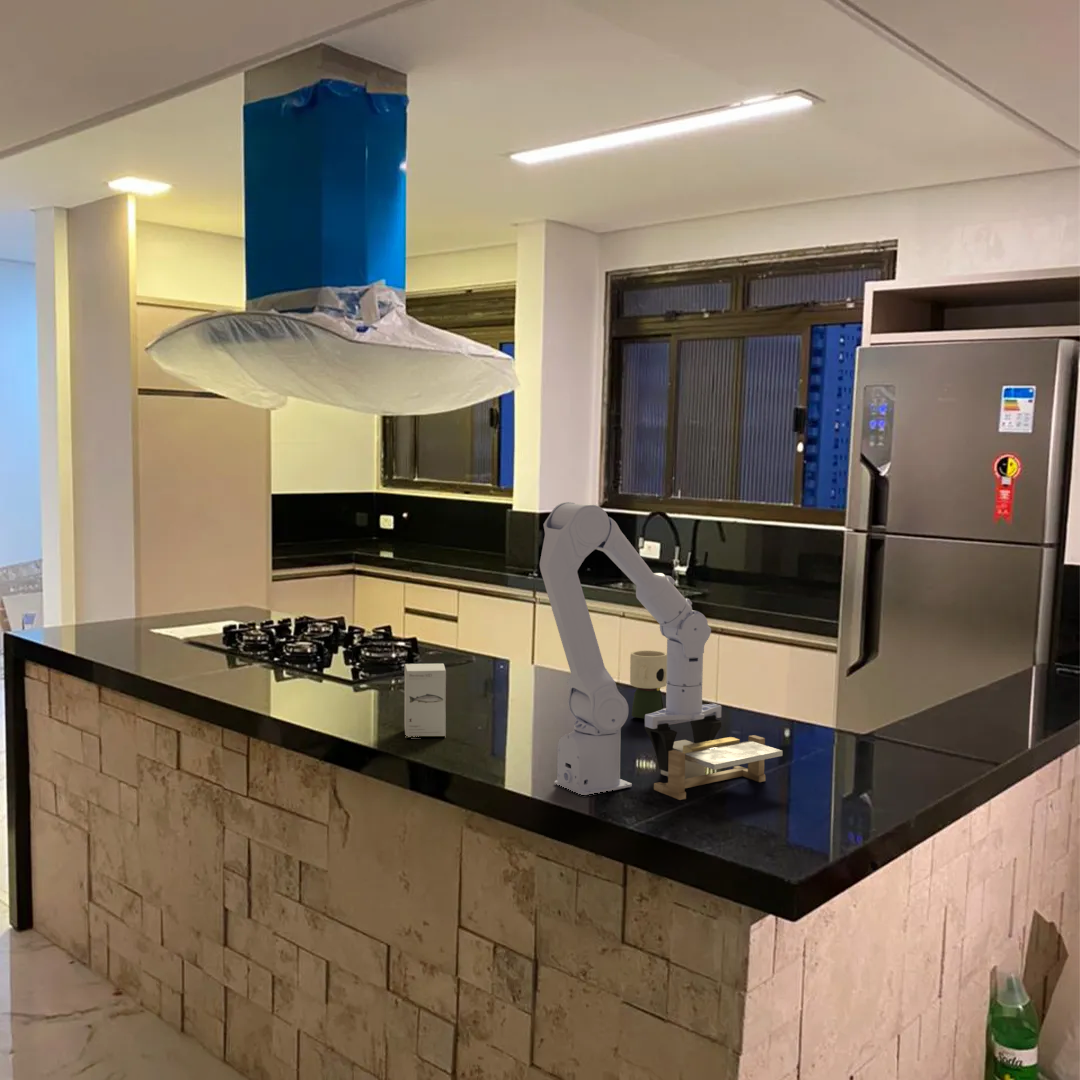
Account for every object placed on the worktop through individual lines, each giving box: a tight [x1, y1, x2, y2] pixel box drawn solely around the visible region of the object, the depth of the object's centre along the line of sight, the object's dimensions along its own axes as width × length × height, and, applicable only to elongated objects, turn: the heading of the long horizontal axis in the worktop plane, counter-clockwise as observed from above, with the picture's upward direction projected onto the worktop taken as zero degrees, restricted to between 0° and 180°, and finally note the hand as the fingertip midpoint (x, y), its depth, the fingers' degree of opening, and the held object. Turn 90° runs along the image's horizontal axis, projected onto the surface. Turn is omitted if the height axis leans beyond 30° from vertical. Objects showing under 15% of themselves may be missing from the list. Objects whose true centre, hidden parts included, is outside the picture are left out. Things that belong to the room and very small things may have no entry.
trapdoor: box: [683, 736, 783, 771], centre depth 166 cm, size 14×9×2 cm, turn 124°
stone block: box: [660, 739, 706, 779], centre depth 175 cm, size 5×5×5 cm
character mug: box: [629, 650, 667, 721], centre depth 212 cm, size 11×7×13 cm, turn 160°
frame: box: [653, 734, 766, 801], centre depth 169 cm, size 18×6×7 cm, turn 124°
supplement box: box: [403, 663, 447, 737], centre depth 199 cm, size 7×7×13 cm
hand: (682, 766), depth 175 cm, fingers open, 7 cm apart
